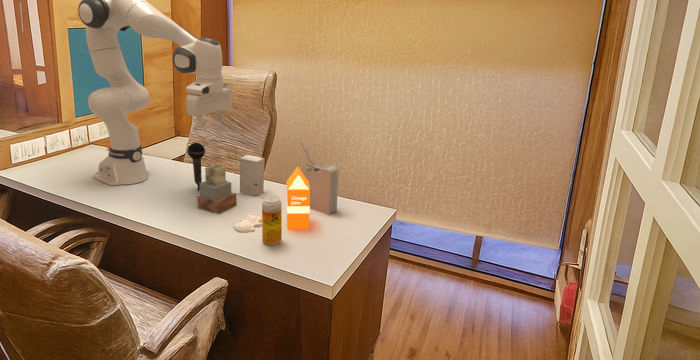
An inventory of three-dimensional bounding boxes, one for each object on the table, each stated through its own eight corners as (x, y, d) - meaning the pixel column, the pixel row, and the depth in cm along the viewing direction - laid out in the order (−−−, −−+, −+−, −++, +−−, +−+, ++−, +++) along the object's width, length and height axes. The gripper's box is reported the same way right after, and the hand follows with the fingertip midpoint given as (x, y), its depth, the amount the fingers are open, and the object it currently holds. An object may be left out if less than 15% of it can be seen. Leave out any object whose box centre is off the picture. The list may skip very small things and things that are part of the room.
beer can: (267, 248, 150) (267, 204, 145) (259, 240, 155) (258, 197, 149) (284, 243, 153) (285, 200, 148) (276, 236, 158) (275, 194, 153)
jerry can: (297, 204, 184) (298, 142, 175) (306, 200, 188) (307, 139, 179) (328, 215, 176) (330, 150, 167) (336, 211, 180) (339, 147, 171)
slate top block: (200, 196, 175) (199, 183, 173) (216, 189, 181) (216, 177, 180) (215, 201, 171) (214, 188, 169) (231, 195, 177) (231, 182, 176)
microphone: (202, 194, 188) (199, 146, 181) (186, 192, 189) (183, 144, 183) (210, 188, 195) (208, 141, 188) (195, 186, 196) (192, 139, 189)
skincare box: (239, 193, 192) (238, 158, 187) (246, 188, 197) (246, 154, 192) (258, 196, 189) (257, 161, 184) (265, 191, 195) (264, 156, 190)
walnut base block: (197, 209, 176) (197, 196, 174) (215, 200, 184) (215, 188, 183) (219, 215, 172) (218, 202, 170) (236, 205, 180) (236, 193, 179)
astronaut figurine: (269, 222, 168) (269, 214, 167) (248, 235, 158) (247, 227, 157) (249, 217, 172) (249, 209, 171) (227, 229, 161) (226, 221, 160)
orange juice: (308, 218, 172) (309, 166, 166) (309, 229, 164) (310, 174, 157) (286, 218, 171) (286, 166, 164) (286, 229, 163) (286, 174, 156)
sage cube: (206, 183, 173) (205, 167, 171) (215, 179, 178) (214, 164, 176) (216, 186, 171) (215, 170, 169) (225, 182, 176) (225, 166, 174)
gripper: (222, 81, 178) (223, 117, 183) (182, 88, 161) (184, 127, 166) (235, 83, 176) (236, 120, 181) (196, 90, 158) (198, 131, 163)
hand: (211, 124), depth 173 cm, fingers open, 8 cm apart
